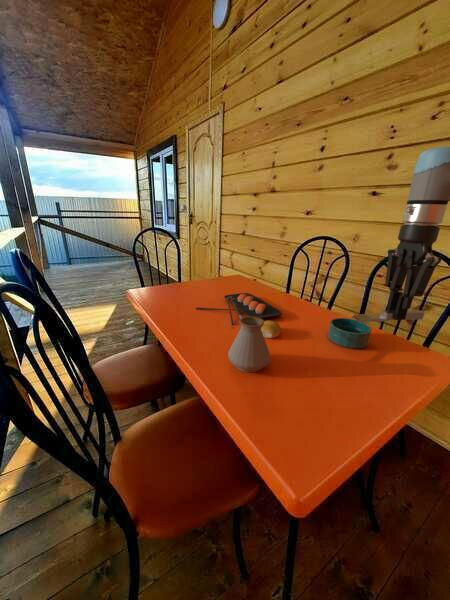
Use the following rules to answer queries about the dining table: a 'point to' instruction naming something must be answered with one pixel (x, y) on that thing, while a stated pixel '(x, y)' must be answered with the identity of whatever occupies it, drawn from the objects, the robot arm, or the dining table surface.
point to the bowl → (349, 333)
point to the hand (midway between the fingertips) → (395, 317)
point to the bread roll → (270, 329)
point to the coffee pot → (249, 344)
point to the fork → (388, 316)
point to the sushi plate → (250, 306)
